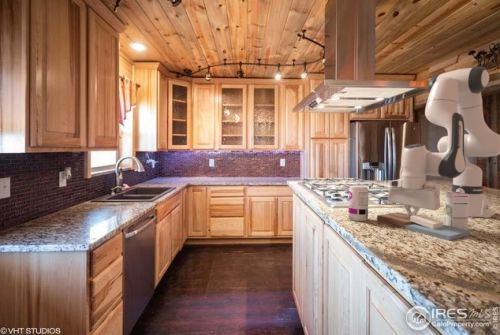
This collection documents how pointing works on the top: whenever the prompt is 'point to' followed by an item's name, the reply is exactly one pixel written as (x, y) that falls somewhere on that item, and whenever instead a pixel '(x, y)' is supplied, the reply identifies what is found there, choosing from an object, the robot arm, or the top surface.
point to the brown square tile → (395, 219)
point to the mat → (440, 231)
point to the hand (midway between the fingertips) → (411, 216)
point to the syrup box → (457, 210)
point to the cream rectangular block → (426, 221)
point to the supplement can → (358, 203)
